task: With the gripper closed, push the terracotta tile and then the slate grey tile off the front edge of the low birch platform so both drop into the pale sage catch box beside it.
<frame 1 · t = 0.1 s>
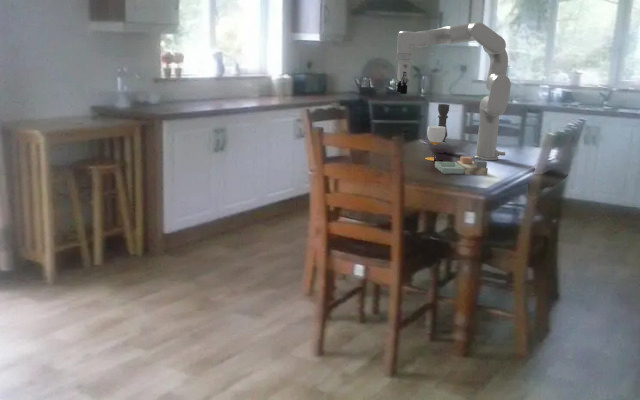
hand: (401, 93, 332), 31 cm above the table, tool pointing down, fingers open, 9 cm apart
slate tile: (479, 166, 301), point 3 cm above the table, touching birch platform
terracotta tile: (465, 162, 309), point 3 cm above the table, touching birch platform
catch box: (448, 170, 305), on the table
birch platform: (471, 171, 306), on the table
candle holder: (439, 152, 355), on the table
cup: (434, 159, 332), on the table
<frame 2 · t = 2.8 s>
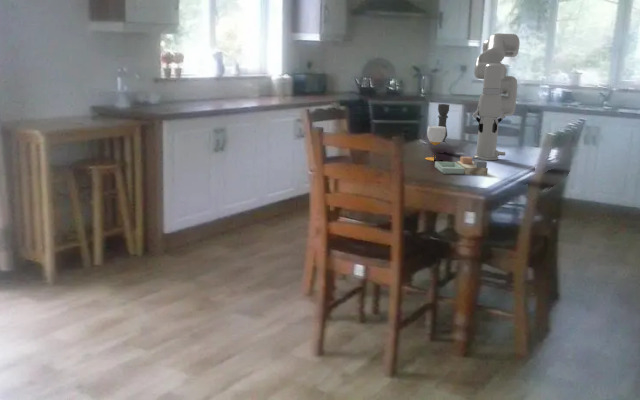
hand: (487, 131, 306), 17 cm above the table, tool pointing down, fingers open, 5 cm apart
nothing on the table moved.
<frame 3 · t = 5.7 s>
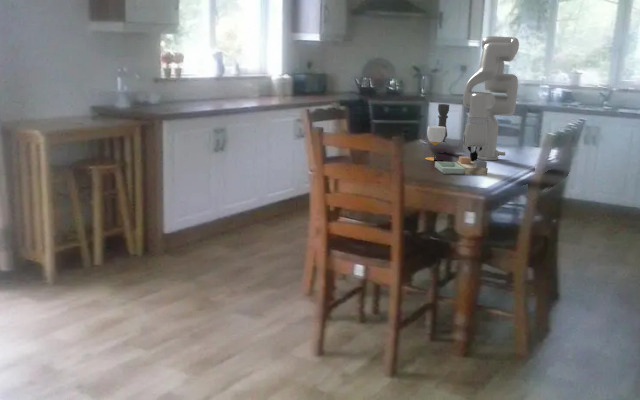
hand: (473, 161, 309), 4 cm above the table, tool pointing down, fingers closed
terracotta tile: (464, 162, 309), point 3 cm above the table, touching birch platform, gripper
everything else where it was.
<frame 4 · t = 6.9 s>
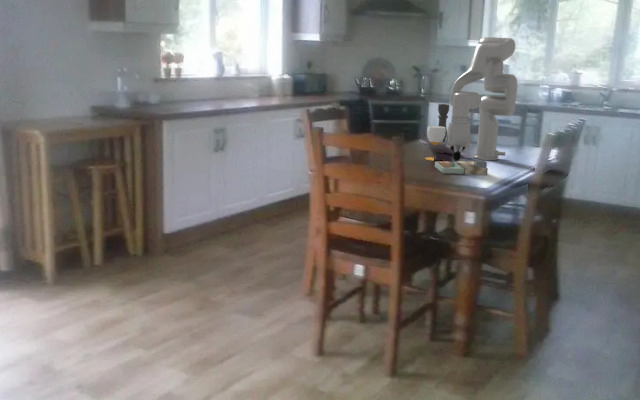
hand: (456, 160, 309), 4 cm above the table, tool pointing down, fingers closed
terracotta tile: (444, 162, 308), point 3 cm above the table, tilted 180°, touching catch box
everything else where it was.
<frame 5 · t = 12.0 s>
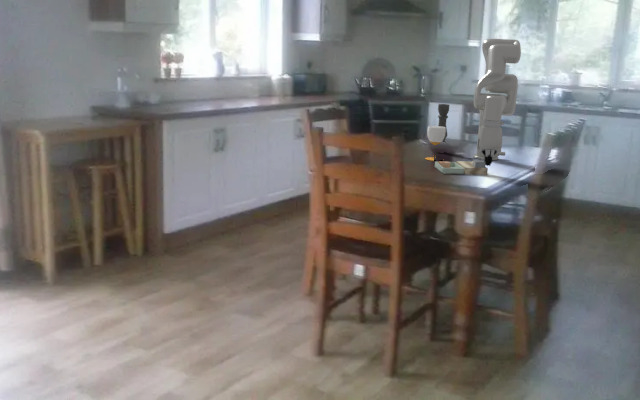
hand: (487, 165, 301), 4 cm above the table, tool pointing down, fingers closed
slate tile: (478, 166, 301), point 3 cm above the table, touching gripper
everything else where it was.
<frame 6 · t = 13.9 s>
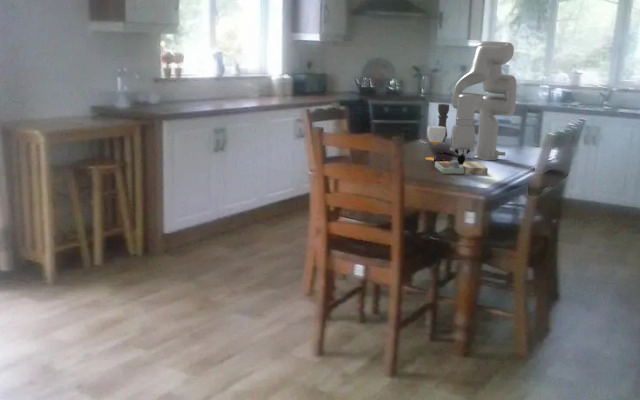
hand: (460, 164, 300), 4 cm above the table, tool pointing down, fingers closed
slate tile: (458, 165, 300), point 3 cm above the table, tilted 106°, touching catch box
everything else where it was.
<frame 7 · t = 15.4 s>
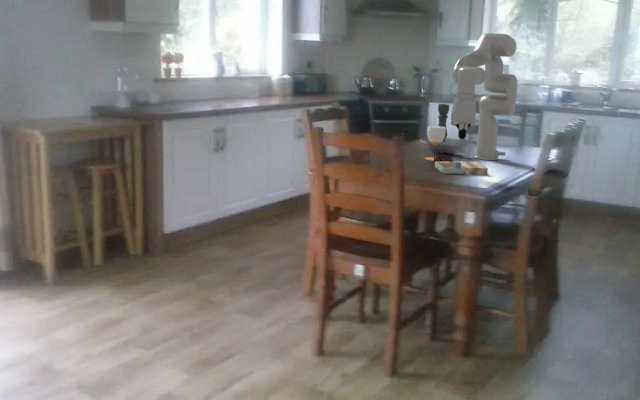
hand: (461, 138, 298), 15 cm above the table, tool pointing down, fingers closed
slate tile: (459, 166, 300), point 3 cm above the table, tilted 90°, touching catch box
everything else where it was.
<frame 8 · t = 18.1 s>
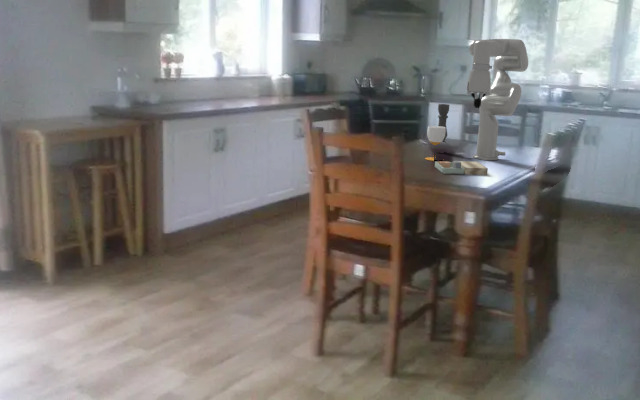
hand: (476, 107, 317), 27 cm above the table, tool pointing down, fingers closed
nothing on the table moved.
at the end: terracotta tile inside the target area on the catch box (4.4 cm from its centre), point 3.0 cm above the catch box's base; slate tile inside the target area on the catch box (5.9 cm from its centre), point 2.7 cm above the catch box's base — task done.
